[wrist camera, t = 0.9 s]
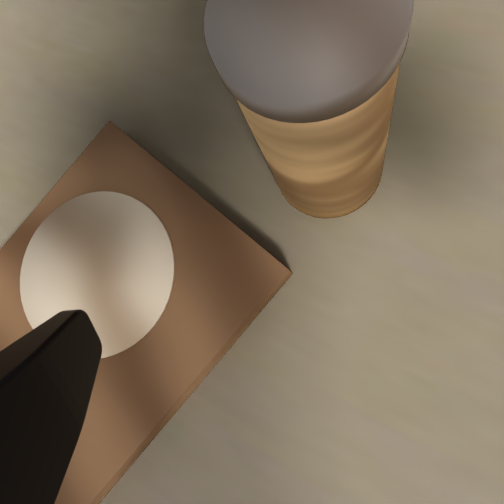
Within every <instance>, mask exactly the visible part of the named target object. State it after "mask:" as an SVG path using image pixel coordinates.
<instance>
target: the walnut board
mask: <svg viewBox="0 0 504 504" xmlns="http://www.w3.org/2000/svg"><path fill="white" fill-rule="evenodd" d="M291 275H292V273H291V272H290V271H289V270H288V269H287V268H286V267H285V266H284V265H283V264H281V263H280V262H279V261H278V260H277V259H275V258H274V257H273V256H272V255H271V254H269V253H268V252H267V251H266V250H265V249H263V248H262V247H261V246H260V245H258V244H257V243H256V242H255V241H254V240H252V239H251V238H250V237H249V236H248V235H246V234H245V233H244V232H243V231H242V230H240V229H239V228H238V227H237V226H236V225H234V224H233V223H232V222H231V221H230V220H228V219H227V218H226V217H225V216H224V215H222V214H221V213H220V212H219V211H218V210H216V209H215V208H214V207H213V206H212V205H210V204H209V203H208V202H207V201H206V200H204V199H203V198H202V197H201V196H200V195H198V194H197V193H196V192H195V191H194V190H192V189H191V188H190V187H189V186H188V185H186V184H185V183H184V182H183V181H182V180H180V179H179V178H178V177H177V176H175V175H174V174H173V173H172V172H171V171H169V170H168V169H167V168H166V167H165V166H163V165H162V164H161V163H160V162H159V161H157V160H156V159H155V158H154V157H153V156H151V155H150V154H149V153H148V152H147V151H145V150H144V149H143V148H142V147H141V146H139V145H138V144H137V143H136V142H135V141H133V140H132V139H131V138H130V137H129V136H127V135H126V134H125V133H124V132H123V131H121V130H120V129H119V128H118V127H117V126H115V125H114V124H113V123H112V122H111V121H109V122H108V123H107V124H106V125H105V127H104V128H103V129H102V130H101V131H100V133H99V134H98V135H97V136H96V137H95V139H94V140H93V141H92V142H91V143H90V144H89V146H88V147H87V148H86V149H85V150H84V152H83V153H82V154H81V155H80V156H79V157H78V159H77V160H76V161H75V162H74V163H73V165H72V166H71V167H70V168H69V169H68V170H67V172H66V173H65V174H64V175H63V176H62V178H61V179H60V180H59V181H58V182H57V183H56V185H55V186H54V187H53V188H52V189H51V191H50V192H49V193H48V194H47V195H46V196H45V198H44V199H43V200H42V201H41V202H40V204H39V205H38V206H37V207H36V208H35V209H34V211H33V212H32V213H31V214H30V215H29V217H28V218H27V219H26V220H25V221H24V222H23V224H22V225H21V226H20V227H19V228H18V230H17V231H16V232H15V233H14V234H13V236H12V237H11V238H10V239H9V240H8V241H7V243H6V244H5V245H4V246H3V247H2V249H1V250H0V351H1V350H3V349H4V348H6V347H7V346H9V345H10V344H12V343H13V342H15V341H16V340H18V339H19V338H21V337H22V336H24V335H26V334H27V333H29V332H30V331H32V330H33V329H35V328H36V327H38V326H39V325H41V324H42V323H44V322H45V321H47V320H48V319H50V318H51V317H53V316H54V315H56V314H57V313H59V312H61V311H65V310H77V309H81V310H84V311H85V312H86V313H87V314H88V316H89V318H90V320H91V322H92V324H93V326H94V328H95V330H96V332H97V334H98V336H99V338H100V340H101V344H102V355H101V359H100V363H99V367H98V371H97V375H96V379H95V383H94V386H93V390H92V394H91V398H90V402H89V406H88V410H87V413H86V417H85V421H84V424H83V427H82V431H81V433H80V436H79V439H78V442H77V445H76V448H75V450H74V453H73V456H72V458H71V461H70V464H69V467H68V469H67V472H66V475H65V477H64V480H63V483H62V485H61V488H60V491H59V494H58V496H57V499H56V502H55V504H99V503H100V502H101V500H102V499H103V498H104V497H105V496H106V495H107V493H108V492H109V491H110V490H111V489H112V487H113V486H114V485H115V484H116V483H117V481H118V480H119V479H120V478H121V477H122V476H123V474H124V473H125V472H126V471H127V470H128V468H129V467H130V466H131V465H132V464H133V462H134V461H135V460H136V459H137V458H138V457H139V455H140V454H141V453H142V452H143V451H144V449H145V448H146V447H147V446H148V445H149V443H150V442H151V441H152V440H153V439H154V438H155V436H156V435H157V434H158V433H159V432H160V430H161V429H162V428H163V427H164V426H165V425H166V423H167V422H168V421H169V420H170V419H171V417H172V416H173V415H174V414H175V413H176V411H177V410H178V409H179V408H180V407H181V406H182V404H183V403H184V402H185V401H186V400H187V398H188V397H189V396H190V395H191V394H192V392H193V391H194V390H195V389H196V388H197V387H198V385H199V384H200V383H201V382H202V381H203V379H204V378H205V377H206V376H207V375H208V374H209V372H210V371H211V370H212V369H213V368H214V366H215V365H216V364H217V363H218V362H219V360H220V359H221V358H222V357H223V356H224V355H225V353H226V352H227V351H228V350H229V349H230V347H231V346H232V345H233V344H234V343H235V341H236V340H237V339H238V338H239V337H240V336H241V334H242V333H243V332H244V331H245V330H246V328H247V327H248V326H249V325H250V324H251V322H252V321H253V320H254V319H255V318H256V317H257V315H258V314H259V313H260V312H261V311H262V309H263V308H264V307H265V306H266V305H267V304H268V302H269V301H270V300H271V299H272V298H273V296H274V295H275V294H276V293H277V292H278V290H279V289H280V288H281V287H282V286H283V285H284V283H285V282H286V281H287V280H288V279H289V277H290V276H291Z"/></svg>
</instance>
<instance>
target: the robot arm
mask: <svg viewBox="0 0 504 504" xmlns="http://www.w3.org/2000/svg"><path fill="white" fill-rule="evenodd" d="M101 355H102V344H101V340H100V338H99V336H98V334H97V332H96V330H95V328H94V326H93V324H92V322H91V320H90V318H89V316H88V314H87V313H86V312H85V311H84V310H81V309H77V310H65V311H61V312H59V313H57V314H56V315H54V316H53V317H51V318H50V319H48V320H47V321H45V322H44V323H42V324H41V325H39V326H38V327H36V328H35V329H33V330H32V331H30V332H29V333H27V334H26V335H24V336H22V337H21V338H19V339H18V340H16V341H15V342H13V343H12V344H10V345H9V346H7V347H6V348H4V349H3V350H1V351H0V504H55V502H56V499H57V496H58V494H59V491H60V488H61V485H62V483H63V480H64V477H65V475H66V472H67V469H68V467H69V464H70V461H71V458H72V456H73V453H74V450H75V448H76V445H77V442H78V439H79V436H80V433H81V431H82V427H83V424H84V421H85V417H86V413H87V410H88V406H89V402H90V398H91V394H92V390H93V386H94V383H95V379H96V375H97V371H98V367H99V363H100V359H101Z"/></svg>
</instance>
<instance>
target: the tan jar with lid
mask: <svg viewBox="0 0 504 504" xmlns="http://www.w3.org/2000/svg"><path fill="white" fill-rule="evenodd" d="M413 5H414V0H207V3H206V8H205V14H204V34H205V41H206V45H207V48H208V51H209V54H210V56H211V58H212V60H213V62H214V64H215V66H216V68H217V70H218V72H219V74H220V76H221V78H222V80H223V82H224V84H225V85H226V87H227V88H228V90H229V91H230V93H231V94H232V95H233V96H234V97H235V98H236V100H237V102H238V104H239V106H240V108H241V110H242V112H243V114H244V116H245V119H246V121H247V123H248V125H249V127H250V129H251V131H252V133H253V135H254V137H255V139H256V141H257V143H258V145H259V147H260V149H261V151H262V153H263V155H264V157H265V159H266V161H267V163H268V165H269V167H270V169H271V171H272V173H273V175H274V178H275V180H276V182H277V184H278V186H279V188H280V190H281V192H282V194H283V195H284V197H285V198H286V199H287V201H288V202H289V203H290V204H291V205H292V206H293V207H294V208H296V209H297V210H299V211H301V212H303V213H305V214H307V215H310V216H313V217H318V218H336V217H341V216H344V215H347V214H349V213H352V212H354V211H355V210H357V209H359V208H360V207H361V206H363V205H364V204H365V203H366V202H367V201H368V200H369V199H370V198H371V197H372V195H373V194H374V193H375V191H376V189H377V187H378V185H379V182H380V179H381V175H382V170H383V163H384V157H385V151H386V145H387V139H388V133H389V127H390V121H391V115H392V108H393V102H394V96H395V90H396V84H397V78H398V72H399V66H400V61H401V59H402V57H403V54H404V51H405V49H406V45H407V40H408V36H409V30H410V24H411V19H412V13H413Z"/></svg>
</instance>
